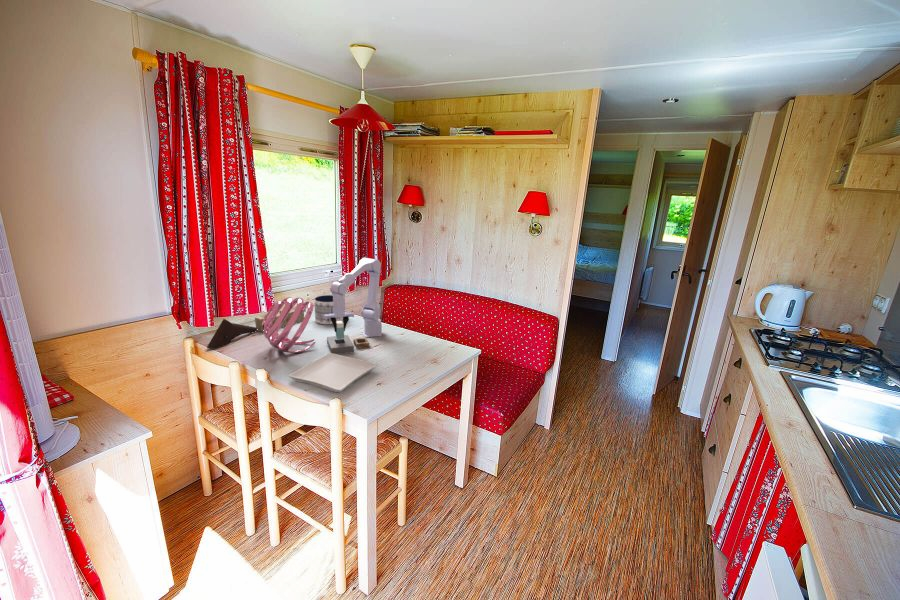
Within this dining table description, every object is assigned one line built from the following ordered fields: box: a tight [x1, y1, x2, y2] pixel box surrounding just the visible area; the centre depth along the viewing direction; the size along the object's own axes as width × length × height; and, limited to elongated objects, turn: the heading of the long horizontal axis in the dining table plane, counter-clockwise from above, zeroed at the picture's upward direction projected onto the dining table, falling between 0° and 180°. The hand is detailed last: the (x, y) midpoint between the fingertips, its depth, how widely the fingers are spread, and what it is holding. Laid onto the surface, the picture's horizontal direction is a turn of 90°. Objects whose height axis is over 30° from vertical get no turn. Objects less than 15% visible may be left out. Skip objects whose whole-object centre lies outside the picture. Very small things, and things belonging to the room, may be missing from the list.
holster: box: [206, 318, 258, 350], centre depth 200 cm, size 5×16×25 cm
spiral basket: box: [262, 296, 316, 354], centre depth 191 cm, size 28×28×27 cm
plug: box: [335, 320, 345, 339], centre depth 196 cm, size 4×4×8 cm
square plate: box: [287, 352, 377, 393], centre depth 168 cm, size 27×27×4 cm
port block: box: [326, 334, 355, 355], centre depth 198 cm, size 11×16×4 cm
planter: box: [313, 294, 343, 325], centre depth 236 cm, size 16×16×14 cm
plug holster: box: [352, 337, 370, 349], centre depth 203 cm, size 7×8×2 cm
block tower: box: [254, 305, 307, 332], centre depth 226 cm, size 8×8×29 cm
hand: (339, 331), depth 196 cm, fingers closed on plug, 3 cm apart
